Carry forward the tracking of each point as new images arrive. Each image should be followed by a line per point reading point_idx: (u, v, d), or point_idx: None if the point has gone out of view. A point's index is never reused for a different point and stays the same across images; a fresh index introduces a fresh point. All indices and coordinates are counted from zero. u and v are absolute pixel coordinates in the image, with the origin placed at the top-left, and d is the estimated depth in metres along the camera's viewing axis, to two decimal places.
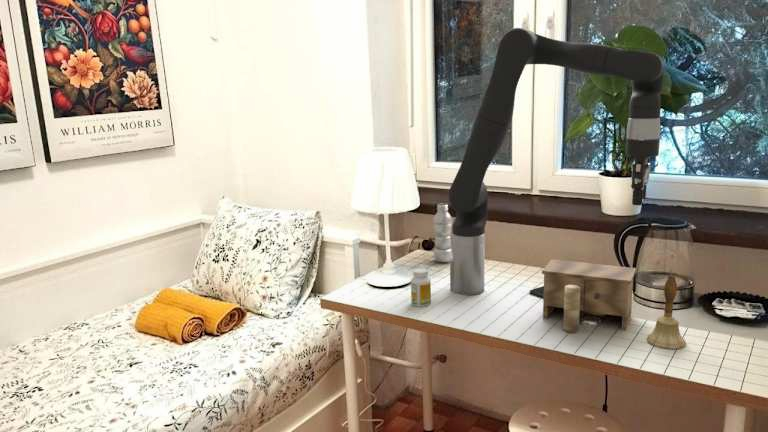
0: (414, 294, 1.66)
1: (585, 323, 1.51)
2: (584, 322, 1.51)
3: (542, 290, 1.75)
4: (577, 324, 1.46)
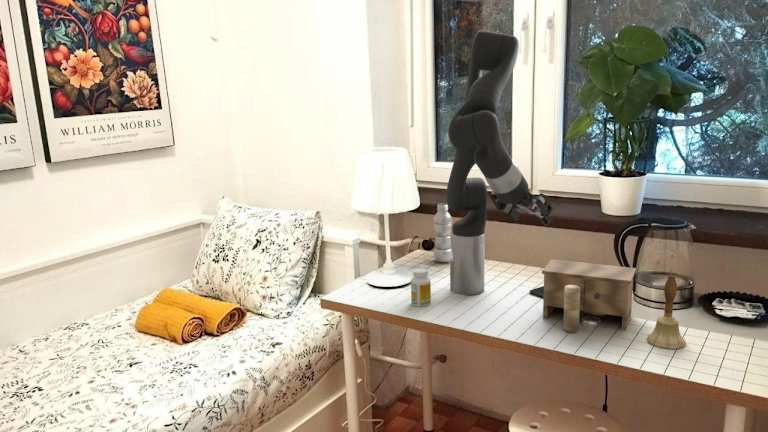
0: (414, 294, 1.66)
1: (585, 323, 1.51)
2: (584, 322, 1.51)
3: (542, 290, 1.75)
4: (577, 324, 1.46)
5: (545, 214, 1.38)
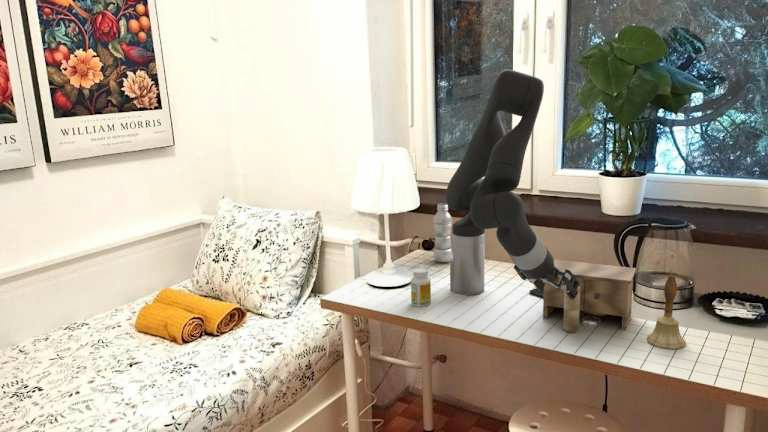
0: (414, 294, 1.66)
1: (585, 323, 1.51)
2: (584, 322, 1.51)
3: (542, 290, 1.75)
4: (577, 324, 1.46)
5: (571, 290, 1.33)
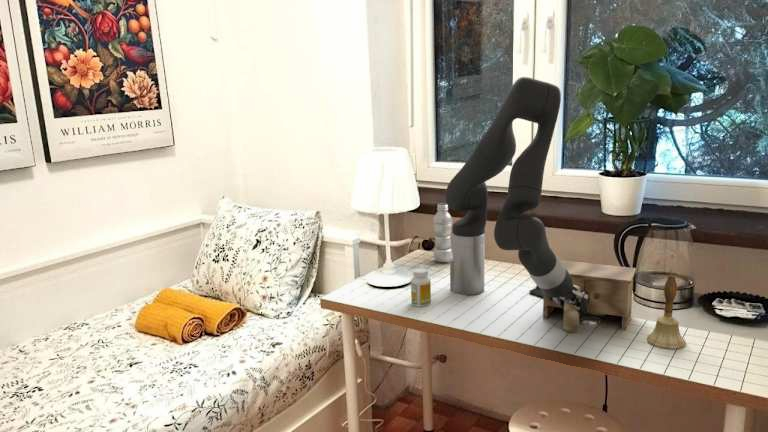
0: (414, 294, 1.66)
1: (586, 323, 1.51)
2: (584, 322, 1.51)
3: None
4: (577, 324, 1.46)
5: (581, 307, 1.41)
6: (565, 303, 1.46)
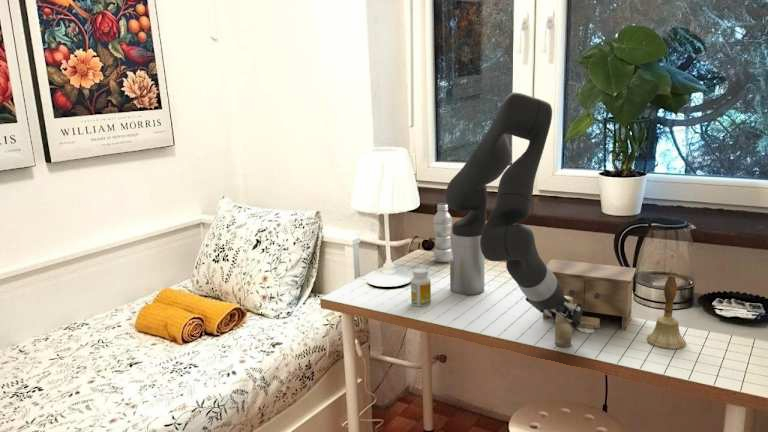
0: (414, 294, 1.66)
1: (581, 331, 1.46)
2: (580, 330, 1.46)
3: None
4: (569, 337, 1.38)
5: (574, 320, 1.33)
6: (557, 315, 1.38)
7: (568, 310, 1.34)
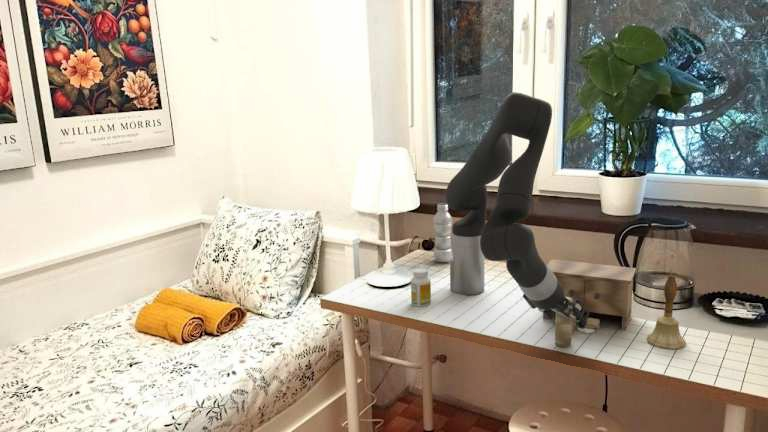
0: (414, 294, 1.66)
1: (581, 331, 1.46)
2: (580, 330, 1.46)
3: None
4: (569, 338, 1.38)
5: (581, 320, 1.31)
6: (557, 316, 1.38)
7: (572, 309, 1.33)
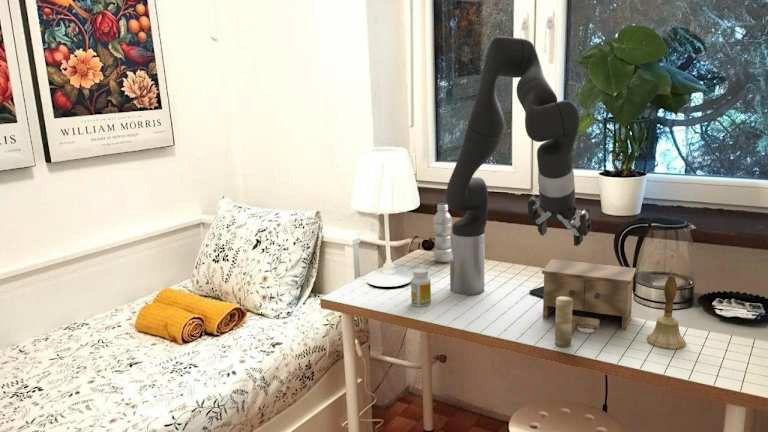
0: (414, 294, 1.66)
1: (581, 331, 1.46)
2: (580, 330, 1.46)
3: (542, 290, 1.75)
4: (569, 338, 1.38)
5: (583, 232, 1.34)
6: (557, 316, 1.38)
7: (575, 221, 1.36)
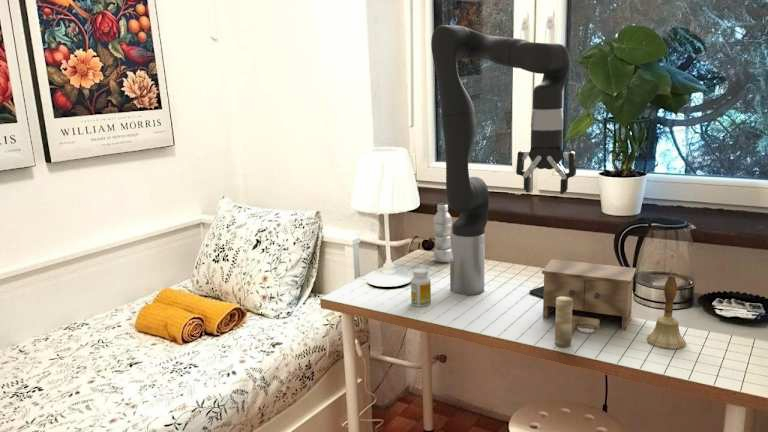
0: (414, 294, 1.66)
1: (582, 331, 1.46)
2: (581, 330, 1.46)
3: (542, 290, 1.75)
4: (569, 338, 1.38)
5: (571, 172, 1.47)
6: (557, 316, 1.38)
7: (561, 167, 1.49)
